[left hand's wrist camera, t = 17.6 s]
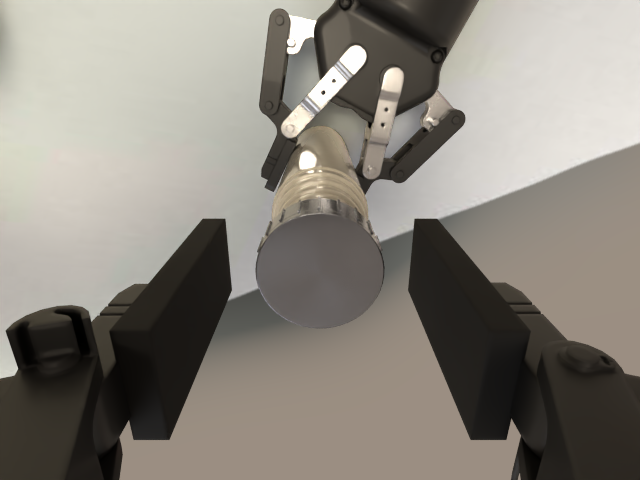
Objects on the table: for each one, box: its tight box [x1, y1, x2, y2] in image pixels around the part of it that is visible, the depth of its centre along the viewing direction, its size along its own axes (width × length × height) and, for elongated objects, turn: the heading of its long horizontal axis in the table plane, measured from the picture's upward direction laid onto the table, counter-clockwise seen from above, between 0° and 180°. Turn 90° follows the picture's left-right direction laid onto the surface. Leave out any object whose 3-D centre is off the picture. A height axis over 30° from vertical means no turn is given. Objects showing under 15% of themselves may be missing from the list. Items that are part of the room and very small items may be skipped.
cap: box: [256, 197, 384, 328], centre depth 14 cm, size 4×4×2 cm
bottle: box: [272, 126, 368, 221], centre depth 23 cm, size 4×4×22 cm
